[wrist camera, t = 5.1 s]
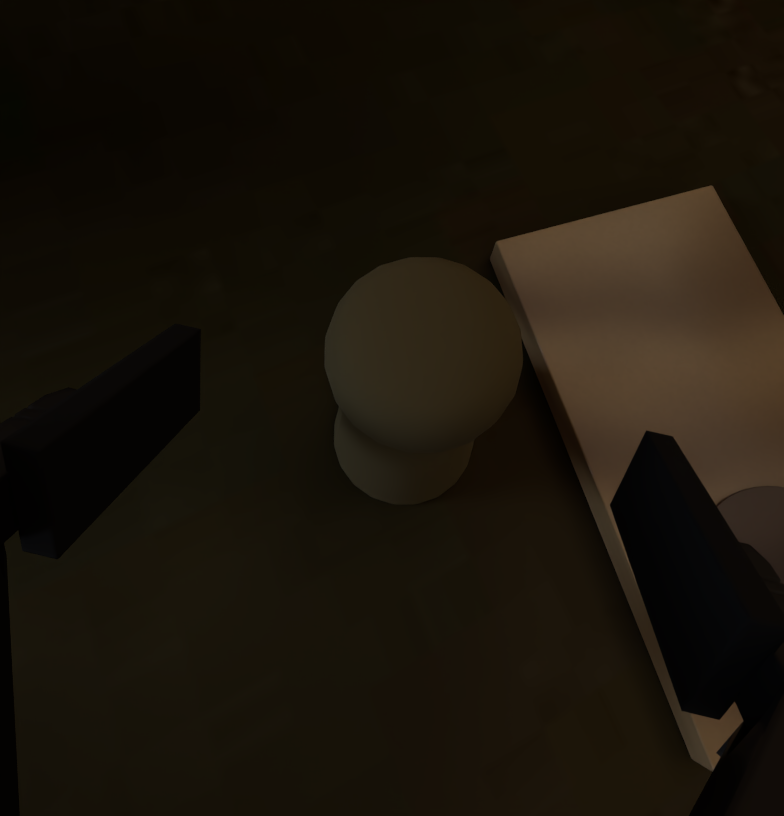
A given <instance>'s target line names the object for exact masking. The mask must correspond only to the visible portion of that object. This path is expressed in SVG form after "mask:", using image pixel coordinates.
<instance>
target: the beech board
mask: <svg viewBox="0 0 784 816" xmlns="http://www.w3.org/2000/svg"><path fill="white" fill-rule="evenodd" d="M490 261H491V263H492V266H493V268H494V271H495V273H496V276H497V278H498V281H499V283H500V286H501V288H502V291H503V293H504V296H505V298H506V300H507V301H508V303H509V304H510V306H511V309H512V311H513V313H514V315H515V318H516V320H517V322H518V325H519V327H520V329H521V338H522V340H523V343H524V345H525V348H526V350H527V353H528V355H529V358H530V360H531V362H532V365H533V367H534V370H535V372H536V375H537V377H538V380H539V382H540V385H541V387H542V390H543V392H544V395H545V397H546V400H547V402H548V405H549V407H550V410H551V412H552V414H553V417H554V419H555V422H556V424H557V427H558V429H559V432H560V434H561V437H562V439H563V442H564V444H565V447H566V449H567V452H568V454H569V457H570V459H571V462H572V464H573V467H574V469H575V471H576V474H577V476H578V479H579V481H580V484H581V486H582V489H583V491H584V494H585V496H586V499H587V501H588V504H589V506H590V509H591V511H592V514H593V516H594V519H595V521H596V523H597V526H598V528H599V531H600V533H601V536H602V538H603V541H604V543H605V546H606V548H607V551H608V553H609V556H610V558H611V561H612V563H613V566H614V568H615V571H616V573H617V575H618V578H619V580H620V583H621V585H622V588H623V590H624V593H625V595H626V598H627V600H628V603H629V605H630V608H631V610H632V613H633V615H634V618H635V620H636V623H637V625H638V628H639V630H640V632H641V635H642V637H643V640H644V642H645V645H646V647H647V650H648V652H649V655H650V657H651V660H652V662H653V665H654V667H655V670H656V672H657V675H658V677H659V680H660V682H661V684H662V687H663V689H664V692H665V694H666V697H667V699H668V702H669V704H670V707H671V709H672V712H673V714H674V717H675V719H676V722H677V724H678V727H679V729H680V732H681V734H682V737H683V739H684V741H685V744H686V746H687V749H688V751H689V754H690V756H691V758H692V759H693V760H694V761H696V762H697V763H699V764H701V765H702V766H704V767H705V768H707V769H709V770H710V771H712V772H713V770H714V768H715V766H716V765H717V763H718V761H719V759H720V756H719V755H718V754H717V753H716V752H717V751H718V750H719V749H720V748H721V746H722V745H723V744H724V743H725V742H726V741H727V739H728V738H729V737H730V736H731V735H732V734H733V732H734V731H735V730H736V729H737V728H738V727H739V725H740V724H741V723H742V722H743V719H742V716H741V714H740V712H739V710H738V707H737V705H736V703H735V702H734V703H733V704H732V705H731V707H730V708H729V709H728V710H727V712H726V713H725V714H724V715H723V716H722V718H721V719H720V720H717V719H713V718H709V717H705V716H700V715H696V714H692V713H688V712H684V711H681V708H680V705H679V702H678V699H677V696H676V694H675V691H674V688H673V685H672V682H671V679H670V676H669V673H668V671H667V668H666V665H665V662H664V659H663V656H662V653H661V651H660V648H659V645H658V642H657V639H656V636H655V633H654V631H653V628H652V625H651V622H650V619H649V616H648V613H647V610H646V608H645V605H644V602H643V599H642V596H641V593H640V590H639V588H638V585H637V582H636V579H635V576H634V573H633V570H632V568H631V565H630V562H629V559H628V556H627V553H626V550H625V547H624V545H623V542H622V539H621V536H620V533H619V530H618V527H617V525H616V522H615V519H614V516H613V513H612V510H611V507H610V503H611V501H612V499H613V497H614V495H615V493H616V491H617V489H618V487H619V485H620V483H621V481H622V479H623V477H624V475H625V473H626V471H627V469H628V467H629V464H630V462H631V460H632V458H633V456H634V454H635V452H636V450H637V448H638V446H639V444H640V442H641V440H642V438H643V436H644V434H645V432H646V430H647V431H651V432H656V433H660V434H665V435H669V436H673V437H674V439H675V440H676V442H677V444H678V445H679V447H680V448H681V450H682V452H683V453H684V455H685V456H686V458H687V460H688V461H689V463H690V464H691V466H692V468H693V469H694V471H695V472H696V474H697V476H698V477H699V479H700V480H701V482H702V484H703V485H704V487H705V488H706V490H707V492H708V493H709V495H710V496H711V498H712V500H713V501H714V503H715V504H716V506H717V508H718V509H719V511H720V512H721V514H722V516H723V517H724V519H725V520H726V522H727V524H728V525H729V527H730V528H731V530H732V532H733V533H734V535H735V536H736V538H737V540H738V541H739V542H741V543H746V544H750V545H751V546H752V547H753V548H754V549H755V550H756V551H758V552H759V553H760V554H761V555H762V556H763V557H764V558H765V559H766V560H767V561H768V562H769V563H770V564H771V566H772V567H773V569H774V570H775V572H776V573H777V575H778V576H779V578H780V579H781V583H782V584H784V315H783V313H782V312H781V310H780V308H779V306H778V304H777V302H776V301H775V299H774V297H773V295H772V293H771V292H770V290H769V288H768V286H767V284H766V282H765V281H764V279H763V277H762V275H761V273H760V271H759V270H758V268H757V266H756V264H755V262H754V261H753V259H752V257H751V255H750V253H749V251H748V250H747V248H746V246H745V244H744V242H743V240H742V239H741V237H740V235H739V233H738V231H737V230H736V228H735V226H734V224H733V222H732V220H731V219H730V217H729V215H728V213H727V211H726V209H725V208H724V206H723V204H722V202H721V200H720V199H719V197H718V195H717V193H716V191H715V189H714V188H713V186H707V187H703V188H700V189H696V190H692V191H688V192H684V193H680V194H676V195H673V196H669V197H665V198H661V199H657V200H653V201H650V202H646V203H642V204H638V205H634V206H630V207H627V208H623V209H619V210H615V211H611V212H607V213H604V214H600V215H596V216H592V217H588V218H584V219H581V220H577V221H573V222H569V223H565V224H561V225H558V226H554V227H550V228H546V229H542V230H538V231H535V232H531V233H527V234H523V235H519V236H515V237H512V238H508V239H504V240H500V241H497V242H496V244H495V246H494V249H493V252H492V254H491V257H490Z"/></svg>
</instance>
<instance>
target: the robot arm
mask: <svg viewBox="0 0 784 816" xmlns="http://www.w3.org/2000/svg"><path fill="white" fill-rule="evenodd" d="M200 337H201V329H197V328H193V327H188V326H184V325H180V324H174V325H172V326H171V327H169V328H168V329H166V330H165V331H164V332H162V333H161V334H159V335H158V336H156V337H155V338H153V339H152V340H150V341H149V342H147V343H146V344H144V345H143V346H141V347H140V348H138V349H137V350H135V351H134V352H132V353H131V354H129V355H128V356H126V357H125V358H124V359H122V360H121V361H119V362H118V363H116V364H115V365H113V366H112V367H110V368H109V369H107V370H106V371H104V372H103V373H101V374H100V375H98V376H97V377H95V378H94V379H92V380H91V381H89V382H88V383H87V384H85V385H84V386H82V387H81V388H79V389H78V390H76V389H72V388H65V389H62V390H59V391H56V392H53V393H50V394H47V395H45V396H43V397H42V398H40V399H38V400H37V401H35V402H34V403H32V404H31V405H29V406H28V408H24V409H23V410H21V411H20V412H18V413H16V414H15V416H14V417H10V418H9V419H7V420H5V421H4V422H2V423H1V424H0V816H20V812H19V793H18V773H17V754H16V734H15V714H14V695H13V675H12V656H11V636H10V617H9V597H8V577H7V558H6V551H5V546H4V542H5V541H6V540H7V539H9V538H10V537H11V536H12V535H13V534H14V533H15V532H16V531H17V530H19V535H20V540H21V545H22V550H23V551H26V552H30V553H34V554H38V555H42V556H46V557H50V558H55V559H58V558H59V557H60V556H61V555H62V554H63V553H64V552H65V551H66V550H67V549H68V548H69V547H70V546H71V545H72V544H73V543H74V542H75V541H76V540H77V538H78V537H79V536H80V535H81V534H82V533H83V532H84V531H85V530H86V529H87V528H88V527H89V526H90V525H91V524H92V523H93V522H94V521H95V520H96V519H97V517H98V516H99V515H100V514H101V513H102V512H103V511H104V510H105V509H106V508H107V507H108V506H109V505H110V504H111V503H112V502H113V501H114V500H115V499H116V498H117V497H118V495H119V494H120V493H121V492H122V491H123V490H124V489H125V488H126V487H127V486H128V485H129V484H130V483H131V482H132V481H133V480H134V479H135V478H136V477H137V476H138V474H139V473H140V472H141V471H142V470H143V469H144V468H145V467H146V466H147V465H148V464H149V463H150V462H151V461H152V460H153V459H154V458H155V457H156V456H157V455H158V453H159V452H160V451H161V450H162V449H163V448H164V447H165V446H166V445H167V444H168V443H169V442H170V441H171V440H172V439H173V438H174V437H175V436H176V435H177V434H178V432H179V431H180V430H181V429H182V428H183V427H184V426H185V425H186V424H187V423H188V422H189V421H190V420H191V419H192V418H193V417H194V416H195V415H196V414H197V413H198V411H199V410H200ZM610 507H611V510H612V513H613V516H614V519H615V522H616V525H617V527H618V530H619V533H620V536H621V539H622V542H623V545H624V547H625V550H626V553H627V556H628V559H629V562H630V565H631V568H632V570H633V573H634V576H635V579H636V582H637V585H638V588H639V590H640V593H641V596H642V599H643V602H644V605H645V608H646V610H647V613H648V616H649V619H650V622H651V625H652V628H653V631H654V633H655V636H656V639H657V642H658V645H659V648H660V651H661V653H662V656H663V659H664V662H665V665H666V668H667V671H668V673H669V676H670V679H671V682H672V685H673V688H674V691H675V694H676V696H677V699H678V702H679V705H680V708H681V711H684V712H688V713H692V714H696V715H700V716H705V717H709V718H713V719H717V720H720V719H721V718H722V716H723V715H724V714H725V713H726V712H727V710H728V709H729V708H730V707H731V705H732V704H733V703H734V702H735V703H736V705H737V707H738V710H739V712H740V714H741V716H742V719H743V722H742V723H741V724H740V725H739V727H738V728H737V729H736V730H735V731H734V732H733V734H732V735H731V736H730V737H729V738H728V739H727V741H726V742H725V743H724V744H723V745H722V746H721V748H720V749H719V750H718V751H717V752H716V753H717V754H718V755H719V756H720V759H719V761H718V763H717V765H716V766H715V768H714V770H713V772H712V774H711V776H710V778H709V779H708V781H707V783H706V785H705V787H704V789H703V791H702V792H701V794H700V796H699V798H698V800H697V802H696V804H695V805H694V807H693V809H692V811H691V813H690V815H689V816H784V584H782V583H781V579H780V578H779V576H778V575H777V573H776V572H775V570H774V569H773V567H772V566H771V564H770V563H769V562H768V561H767V560H766V559H765V558H764V557H763V556H762V555H761V554H760V553H759V552H758V551H756V550H755V549H754V548H753V547H752V546H751V545H750V544H746V543H741V542H739V541H738V540H737V538H736V536H735V535H734V533H733V532H732V530H731V528H730V527H729V525H728V524H727V522H726V520H725V519H724V517H723V516H722V514H721V512H720V511H719V509H718V508H717V506H716V504H715V503H714V501H713V500H712V498H711V496H710V495H709V493H708V492H707V490H706V488H705V487H704V485H703V484H702V482H701V480H700V479H699V477H698V476H697V474H696V472H695V471H694V469H693V468H692V466H691V464H690V463H689V461H688V460H687V458H686V456H685V455H684V453H683V452H682V450H681V448H680V447H679V445H678V444H677V442H676V440H675V439H674V437H673V436H669V435H665V434H660V433H656V432H651V431H647V430H646V432H645V434H644V436H643V438H642V440H641V442H640V444H639V446H638V448H637V450H636V452H635V454H634V456H633V458H632V460H631V462H630V464H629V467H628V469H627V471H626V473H625V475H624V477H623V479H622V481H621V483H620V485H619V487H618V489H617V491H616V493H615V495H614V497H613V499H612V501H611V503H610Z"/></svg>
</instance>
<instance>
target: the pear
mask: <svg viewBox="0 0 784 816" xmlns="http://www.w3.org/2000/svg"><path fill="white" fill-rule="evenodd" d="M522 366H523V351H522V339H521V329H520V327H519V325H518V322H517V320H516V318H515V315H514V313H513V311H512V309H511V306H510V304H509V303H508V301H507V300H506V299H505V298H504V297H503V296H502V295H501V293H500V292H499V291H498V290H497V289H496V288H495V286H494V285H493V284H492V283H491V282H490V281H489V280H487V279H486V278H484V277H482V276H481V275H479V274H478V273H476V272H475V271H473V270H471V269H470V268H468V267H467V266H465V265H463V264H459V263H456V262H452V261H449V260H446V259H442V258H439V257H409V258H405V259H401V260H398V261H394V262H391V263H387V264H384V265H380V266H379V267H377V268H376V269H374V270H373V271H371V272H369V273H368V274H366V275H365V276H363V277H362V278H360V279H359V280H357V281H356V282H355V283H354V284H353V286H352V287H351V288H350V289H349V290H348V292H347V293H346V294H345V295H344V297H343V298H342V299H341V300H340V301H339V303H338V305H337V307H336V310H335V312H334V315H333V318H332V320H331V323H330V326H329V328H328V331H327V334H326V336H325V365H324V367H325V370H326V373H327V377H328V380H329V383H330V386H331V389H332V392H333V395H334V398H335V401H336V403H337V404H338V406H339V408H338V412H337V416H336V420H335V424H334V447H335V450H336V453H337V457H338V460H339V463H340V466H341V468H342V469H343V470H344V472H345V473H346V475H347V476H348V477H349V479H350V480H351V481H352V483H353V484H354V485H355V486H357V487H358V488H359V489H361V490H362V491H363V492H365V493H366V494H368V495H369V496H370V497H372V498H375V499H378V500H381V501H384V502H387V503H390V504H393V505H403V504H419V503H422V502H425V501H428V500H431V499H434V498H437V497H439V496H440V495H441V494H443V493H444V492H445V491H446V490H448V489H449V488H450V487H452V486H453V485H454V484H456V482H457V481H458V479H459V478H460V476H461V475H462V473H463V472H464V470H465V469H466V467H467V466H468V462H469V459H470V455H471V451H472V448H473V444H474V440H475V438H477V437H478V436H479V435H481V434H482V433H483V432H485V431H486V430H487V429H489V428H490V427H491V426H493V425H494V424H495V423H496V422H497V421H498V420H499V418H500V417H501V415H502V414H503V412H504V411H505V409H506V408H507V406H508V405H509V403H510V402H511V400H512V399H513V397H514V396H515V394H516V390H517V386H518V382H519V378H520V374H521V370H522Z"/></svg>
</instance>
